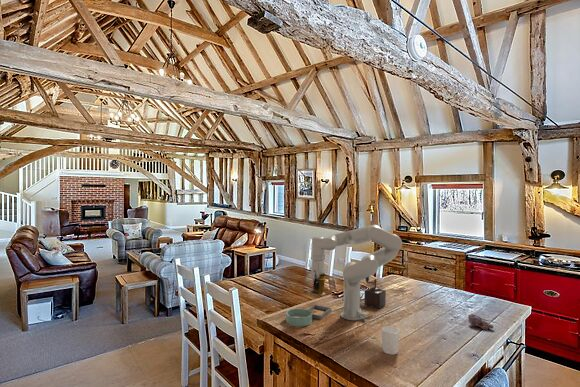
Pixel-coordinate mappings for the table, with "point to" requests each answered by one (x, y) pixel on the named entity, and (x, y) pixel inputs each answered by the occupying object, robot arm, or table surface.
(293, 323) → the bowl
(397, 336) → the white cup
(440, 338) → the table surface
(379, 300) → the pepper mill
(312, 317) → the tray
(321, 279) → the condiment
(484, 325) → the grey-brown irregular lump
